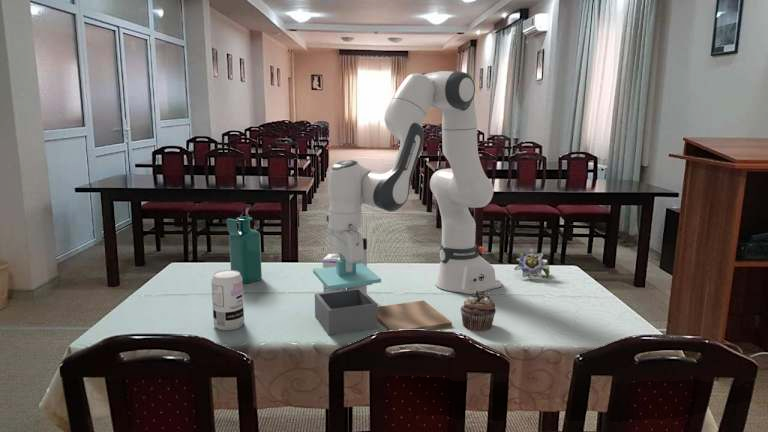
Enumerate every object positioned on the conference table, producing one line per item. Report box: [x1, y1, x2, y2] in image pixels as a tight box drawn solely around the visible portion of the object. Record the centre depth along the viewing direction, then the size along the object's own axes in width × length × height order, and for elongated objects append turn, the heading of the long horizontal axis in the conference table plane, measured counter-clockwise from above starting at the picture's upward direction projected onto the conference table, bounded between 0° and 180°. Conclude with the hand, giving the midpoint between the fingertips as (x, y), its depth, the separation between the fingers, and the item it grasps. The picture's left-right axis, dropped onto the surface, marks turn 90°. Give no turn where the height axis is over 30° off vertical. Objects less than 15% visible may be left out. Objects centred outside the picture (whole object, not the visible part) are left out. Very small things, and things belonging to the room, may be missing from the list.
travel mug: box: [346, 237, 368, 295], centre depth 179 cm, size 6×7×20 cm
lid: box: [312, 259, 382, 290], centre depth 160 cm, size 15×15×6 cm
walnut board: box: [377, 300, 453, 331], centre depth 166 cm, size 18×18×1 cm
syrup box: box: [322, 253, 347, 293], centre depth 178 cm, size 6×6×14 cm
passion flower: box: [514, 247, 550, 281], centre depth 205 cm, size 11×11×12 cm
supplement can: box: [210, 269, 245, 331], centre depth 159 cm, size 8×8×15 cm
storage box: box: [314, 288, 379, 336], centre depth 163 cm, size 14×14×7 cm
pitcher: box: [225, 216, 263, 285], centre depth 196 cm, size 10×8×22 cm
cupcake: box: [460, 291, 497, 332], centre depth 161 cm, size 10×10×10 cm
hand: (346, 269), depth 160 cm, fingers closed on lid, 2 cm apart
